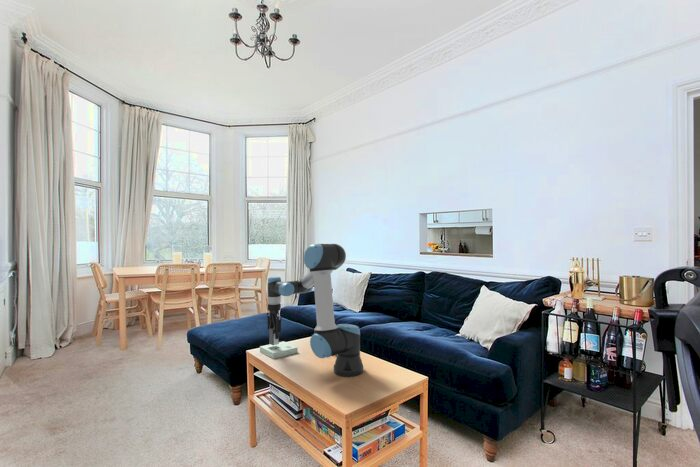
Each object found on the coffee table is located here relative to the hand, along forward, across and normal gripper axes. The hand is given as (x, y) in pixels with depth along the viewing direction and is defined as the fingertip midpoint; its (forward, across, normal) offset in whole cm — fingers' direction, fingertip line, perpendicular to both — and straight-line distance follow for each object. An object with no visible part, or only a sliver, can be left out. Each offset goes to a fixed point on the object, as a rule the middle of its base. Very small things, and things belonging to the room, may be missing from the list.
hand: (273, 343), depth 206 cm
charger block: (0, 0, 0) cm, 0 cm away
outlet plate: (+6, 0, -3) cm, 6 cm away
